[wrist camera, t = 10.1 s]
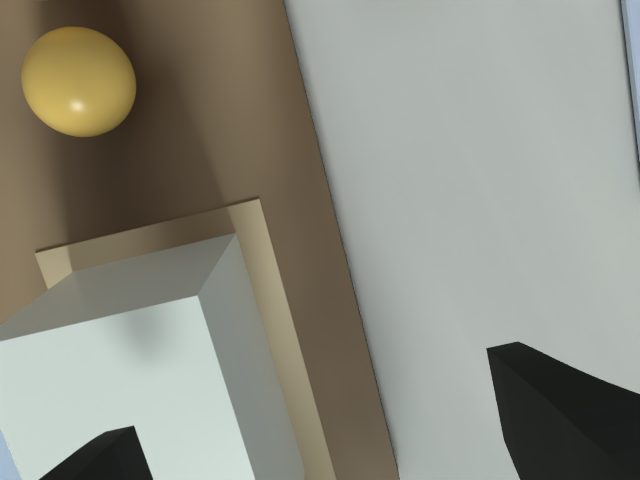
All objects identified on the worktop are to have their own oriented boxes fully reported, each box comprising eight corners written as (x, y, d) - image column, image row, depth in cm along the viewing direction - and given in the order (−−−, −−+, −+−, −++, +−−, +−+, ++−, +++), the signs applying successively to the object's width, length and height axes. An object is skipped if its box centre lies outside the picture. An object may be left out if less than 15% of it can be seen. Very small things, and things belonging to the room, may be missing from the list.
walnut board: (222, -249, 17) (215, -271, 16) (398, 471, 23) (401, 490, 22) (-166, -134, 18) (-197, -148, 17) (98, 533, 24) (87, 554, 23)
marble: (131, 20, 18) (93, 7, 15) (161, 120, 19) (130, 126, 16) (36, 45, 18) (-19, 37, 15) (70, 143, 19) (23, 153, 16)
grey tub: (236, 232, 19) (197, 295, 14) (304, 470, 22) (296, 611, 16) (72, 272, 20) (-34, 349, 14) (155, 501, 22) (94, 651, 16)
